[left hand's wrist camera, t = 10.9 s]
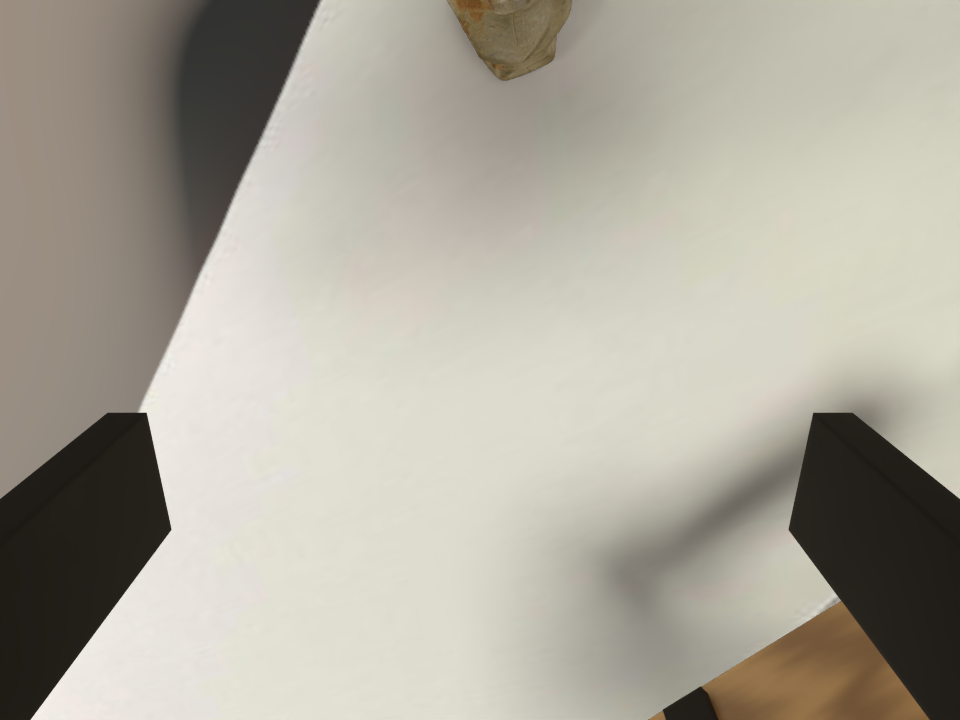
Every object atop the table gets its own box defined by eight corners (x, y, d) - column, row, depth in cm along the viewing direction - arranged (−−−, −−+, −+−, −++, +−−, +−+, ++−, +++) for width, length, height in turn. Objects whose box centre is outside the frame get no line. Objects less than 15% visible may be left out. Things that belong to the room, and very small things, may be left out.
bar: (1028, 485, 32) (1197, 595, 25) (1070, 546, 34) (1244, 669, 26) (628, 731, 38) (665, 882, 31) (677, 775, 40) (724, 930, 32)
